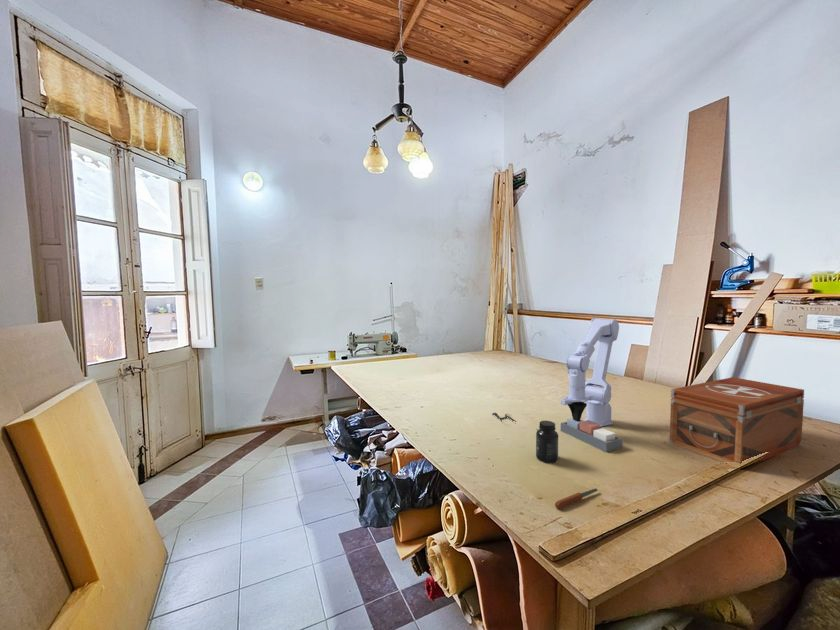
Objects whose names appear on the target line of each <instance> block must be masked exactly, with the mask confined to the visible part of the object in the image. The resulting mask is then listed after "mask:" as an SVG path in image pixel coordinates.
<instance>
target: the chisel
mask: <svg viewBox="0 0 840 630" xmlns="http://www.w3.org/2000/svg"><path fill="white" fill-rule="evenodd" d="M598 490H599V489H598V488H592V489H590V490H587V491H583V492H577V493H574V494H571V495H569V496H567V497H565V498H564V497H563V498H562V499H558V500H557V501H556V502H555V503H554V505H555V506H554V507H555V508H557V509H558V510H562V509H563V510H564V509H565V508H568V507H570V506H571V505H574V504H575V503H577V502H581V501H583V498H585V497H587V496H590V495H591V494H593V493H596V492H598Z"/></svg>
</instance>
